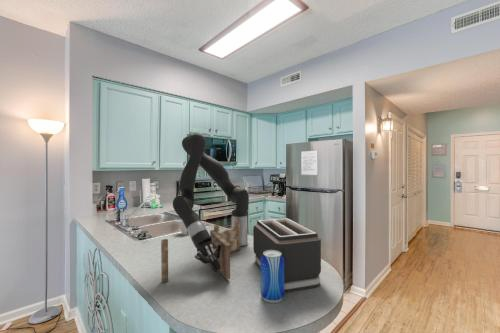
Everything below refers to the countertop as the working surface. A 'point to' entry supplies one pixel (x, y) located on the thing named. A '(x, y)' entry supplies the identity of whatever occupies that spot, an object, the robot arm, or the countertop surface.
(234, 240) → the fence
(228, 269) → the gate
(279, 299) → the beer can
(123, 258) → the countertop surface
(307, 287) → the toaster
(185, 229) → the cup
